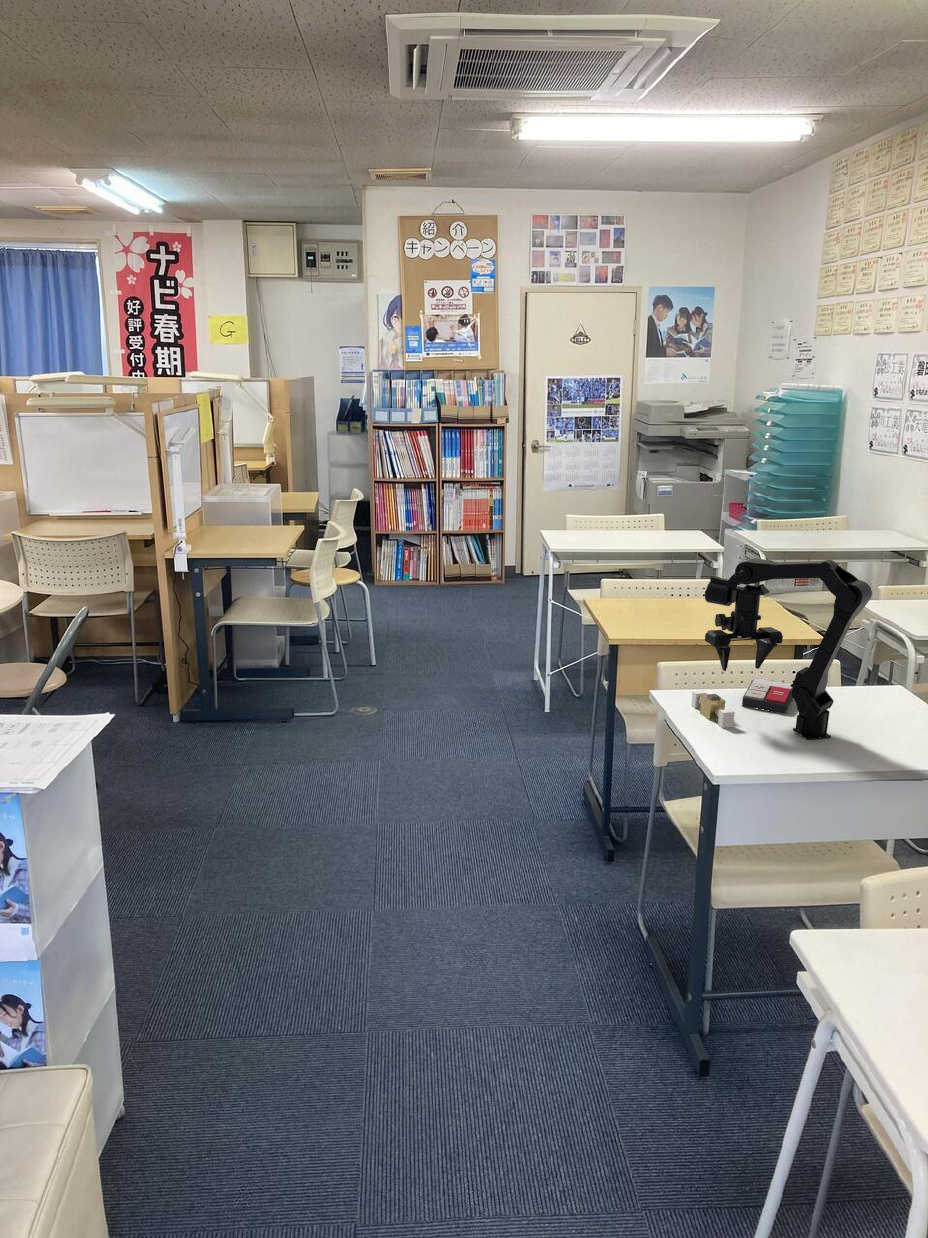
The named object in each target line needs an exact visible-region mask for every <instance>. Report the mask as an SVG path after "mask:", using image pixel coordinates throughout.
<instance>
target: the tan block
mask: <svg viewBox="0 0 928 1238" xmlns="http://www.w3.org/2000/svg"><path fill="white" fill-rule="evenodd" d="M719 708H721V709H723V710H725V708H726V700H725V699H723V698H722V697H721V696H719V694H716V693H709V694H708V693H707V695H701V706H700V710H699V714H700V715H702V716H703V718H706V719H707V720H708V721H716V718H719V717H717V716H716V715H715V711H716V710H717V709H719Z"/></svg>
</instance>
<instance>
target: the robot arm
mask: <svg viewBox="0 0 928 1238" xmlns="http://www.w3.org/2000/svg"><path fill="white" fill-rule="evenodd" d="M784 579H785V580H787V579H788V580H789V579H791V580H792V579H820V580H821V581H822V582H823V584H824V585H825V587H826V588H827V590H828V591H829V592H830V593H831V594H832V595H833V596H834V597H835V600H834V603H833V614H832V617H831V620H830V622H829V623H828V626H827V628H826V631H825V632H824V635H823V638H822V639H821V641H820V643H819V646H818V648H817V650H816V652H815V654H814V656H813V658H812V661H811V663H810V665H809V667H808V666H805V667H803V668H802V669H799V670H798V671H797V672H796V674H795V677H794V680H793V682H792V684H791V683H790V684H791V685H790V686H791V687H793V688H792V690H791V695H792V697H793V700H794V702H795V705H796V709H797V712H798V714H797V715H796V720H795V721H796V722H795V727H793V728H792V731H794V732H795V733H796V734H798V735H800V736H801V737H802V738H804V739H806V740H820V739H830V738H831V737H832V736H831V734H829V733H828V727H829V718H830V711H829V709H831V708H832V706H833V704H834V702H835V701H834V698H833V697H831V695H830V693H828V691H827V690H826V689H827V686H828V683H829V682H828V681H829V680H828V679H829V672H830V669H831V667H832V665H833V662H834V661H835V658H836V656H837V655H838V651H839V649H840V648H841V646H842V644H843V642H844V640H845V637H846V636H847V633H848V632H849V629H850V627H851V625H852V623H853V621H855V619H856V618H857V616H859V614H860V613H861V612H862V611H863V610H864V608H865V607H866V606H867V604H868V603H869V602H870V600H871V599H872V597H873V590H872V588H871V586H870V585H869V584H868V583H867V582H866V581H864V580H860V579H859V578H858V577H856V576H855V575H854V574H853V573H852V572H849V571H848V570H846V569H844V567H841V566H840V564H838V563H836V562H835V561H834V560H832V559H825V560H812V561H810V560H807V561H785V562H784V561H783V562H781V561H780V562H779V561H778V562H777V561H772V560H769V559H763V558H757V557H755V558H751V559H746V560H744V561H741V562H739V563H738V564H737V565H736V566H735V570H734V573H733V574H732V575H731V576H730V577H729V578H722V577H720V576H716V575H715V576H712V577H710V578H709V582H708V584H707V586H706V589H705V591H704V600H705V602H706V603H709V604H713V605H715V604H716V605H720V606H724V607H730V606H732V604H734V610H732V611H731V612H730V616H727V615H726V614H725V613H717V614H715V617H714V618H715V619H714V625H715V627H716V628H718V627H721V629H710V630H709V629H708V631H706V632H705V634H704V641H705V642H706V643H708V644H709V645H711V646H712V647H714V648H715V650H716V653H717V655H718V659H719V662H720V665H721V670H722V671H724V672H726V671H727V669H728V664H729V659H730V653H731V646H729V645H730V644H731V642H739V641H754V640H755V643H756V651H755V652H756V653H755V663H754V666H755V669H756V670H759V669H760V668H761V666H762V664H763V663H764V661H765V660H766V659H767V657H768V656H769V654H771V652H772V650H773V649H774V648H775V647H778V644H783V639H784V636H783V632H782V631H780V630H778V629H776V628H774V627H772V626H767V627H759V628H758V621H762V615H760V614H759V612H760V611H759V609H760V603H761V602H760V601H761V596H765V595H769V594H770V593H771V592H770V589H768V588H767V587H766V586H765V584H764V583H762V582H766V581H767V582H768V581H769V580H770V581H771V580H784ZM757 583H761V584H758V585H754V584H757ZM752 584H753V585H752ZM741 585H745V586H741ZM757 628H758V629H757ZM726 630H727V631H728V632H732V633H727V632H726Z"/></svg>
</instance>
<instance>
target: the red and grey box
mask: <svg viewBox="0 0 928 1238" xmlns="http://www.w3.org/2000/svg"><path fill="white" fill-rule="evenodd" d="M790 685H791V683H785V682H780V681H779V682H778V681H775V680H774V681H773V680H766V679H760V678H754V679H752V681H751V683H750V684H749V686H748V687H747V690H746V691H745V692H744V694H743V695H742V701H741V702H742V703H741V707H743V708H747V709H753V708H758V709H757V710H759V709H764V710H769V711H768V712H770V711H773V712H772V713H776V712H778V713H777V714H783V715H785V714H787V711H788V709H789V707H790V705H791V703H792V702H793V700H794V699H793V697H792V695H791V690H792V688H793V687H791V686H790ZM764 710H763V711H764Z"/></svg>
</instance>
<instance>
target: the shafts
mask: <svg viewBox="0 0 928 1238" xmlns="http://www.w3.org/2000/svg"><path fill="white" fill-rule="evenodd" d="M697 702H698V703H699V704H700V705H698V708H697V710H698V709H699V710H698V711H700V706H701V696H699V697H698V698H697ZM719 710H723V709H721V708H719V709H717V710H716V711H715V715H716V716H717V717H719ZM718 719H719V718H716V720H715V723H716V724H718Z"/></svg>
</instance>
